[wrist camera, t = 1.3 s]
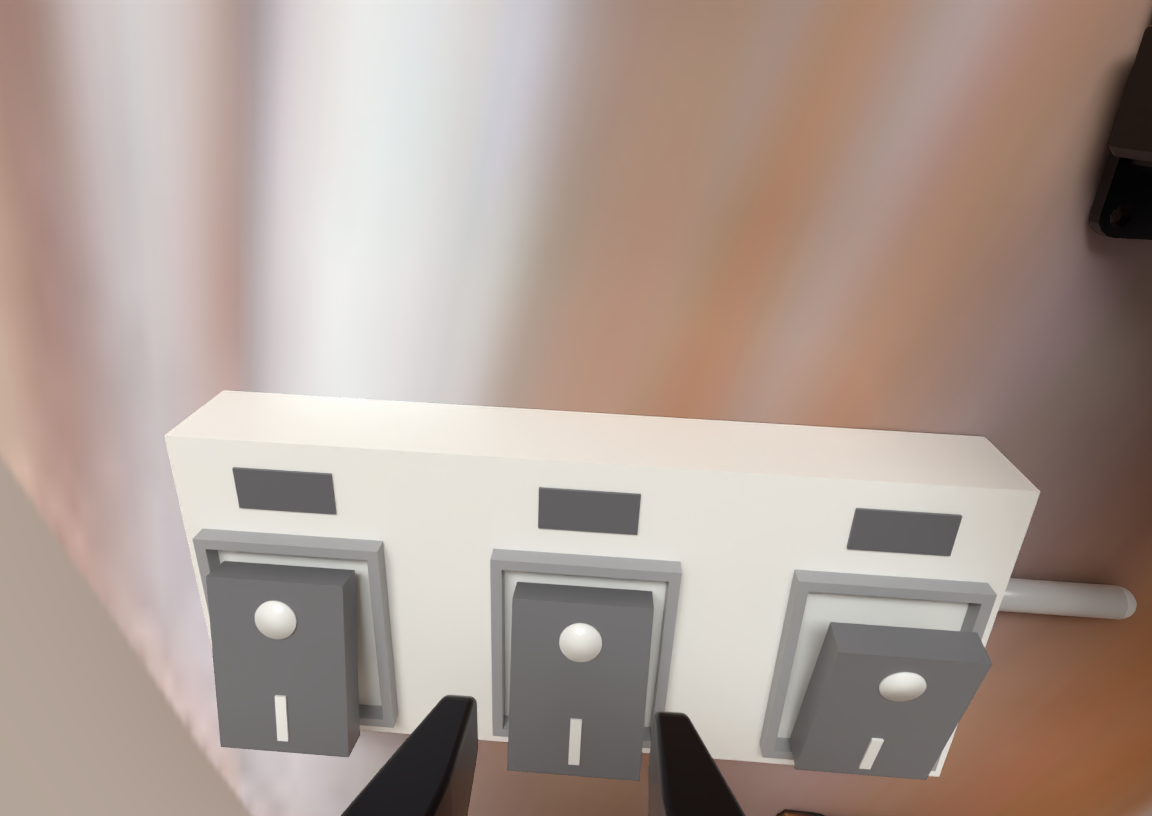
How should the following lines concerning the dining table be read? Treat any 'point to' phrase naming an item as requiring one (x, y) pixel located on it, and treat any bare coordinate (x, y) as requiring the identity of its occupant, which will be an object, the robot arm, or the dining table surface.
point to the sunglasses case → (797, 813)
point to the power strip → (613, 542)
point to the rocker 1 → (285, 657)
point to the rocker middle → (578, 680)
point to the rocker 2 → (886, 699)
